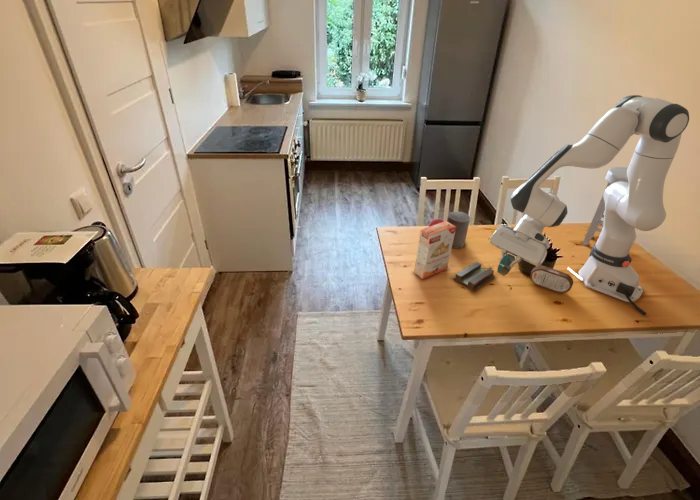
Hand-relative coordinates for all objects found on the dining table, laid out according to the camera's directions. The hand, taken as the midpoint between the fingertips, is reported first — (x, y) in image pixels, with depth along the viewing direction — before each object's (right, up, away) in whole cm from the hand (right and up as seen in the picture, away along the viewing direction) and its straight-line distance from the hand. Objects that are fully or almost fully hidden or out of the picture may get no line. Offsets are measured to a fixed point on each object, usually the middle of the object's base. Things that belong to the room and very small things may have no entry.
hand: (505, 264), depth 141 cm
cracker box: (-24, -4, +18) cm, 30 cm away
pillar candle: (-9, +9, +37) cm, 39 cm away
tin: (+21, -10, +11) cm, 25 cm away
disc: (0, -3, +3) cm, 4 cm away
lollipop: (-19, +5, +32) cm, 38 cm away
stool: (+59, +8, +39) cm, 71 cm away
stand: (-7, -6, +15) cm, 17 cm away
